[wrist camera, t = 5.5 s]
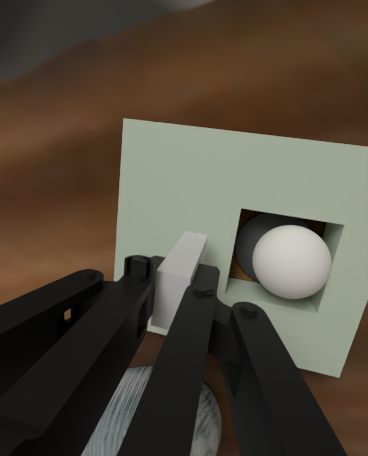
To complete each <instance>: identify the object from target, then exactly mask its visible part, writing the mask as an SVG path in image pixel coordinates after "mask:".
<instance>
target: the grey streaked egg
mask: <svg viewBox="0 0 368 456" xmlns="http://www.w3.org/2000/svg"><path fill="white" fill-rule="evenodd" d="M152 369H153V366H141V367H136V368H128V369H127V370H126V372H125V374H124V376H123V378H122V380H121V381H120V383H119V385H118V387H117V389H116V391H115V393H114V395H113V397H112V398H111V400H110V402H109V404H108V406H107V408H106V410H105V412H104V414H103V415H102V417H101V419H100V421H99V423H98V425H97V427H96V429H95V430H94V432H93V434H92V436H91V438H90V440H89V442H88V444H87V446H86V447H85V449H84V451H83V453H82V455H81V456H116V455H117V453H118V451H119V448H120V446H121V444H122V441H123V439H124V436H125V434H126V432H127V429H128V427H129V424H130V422H131V420H132V417H133V415H134V412H135V410H136V408H137V405H138V403H139V400H140V398H141V395H142V393H143V391H144V388H145V386H146V383H147V381H148V379H149V376H150V374H151V371H152ZM221 425H222V422H221V414H220V409H219V406H218V402H217V401H216V399H215V397H214V395H213V393H212V391H211V390H210V388H209V387H208V386H207V385H206V384H205V383H204V382H202V387H201V393H200V399H199V405H198V411H197V417H196V423H195V429H194V435H193V441H192V447H191V453H190V456H216V454H217V451H218V447H219V444H220V439H221Z"/></svg>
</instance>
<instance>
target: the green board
mask: <svg viewBox="0 0 368 456" xmlns="http://www.w3.org/2000/svg"><path fill="white" fill-rule="evenodd" d="M241 208H243V209H249V210H255V211H261V212H265V213H261V214H259V215H257V216H255V217H253V218H252V219H250V220H249V221H248V222H247V223H246V224H245V225H244V226H243V227H242V229H241V230H240V232H239V234H238V237H237V240H236V256H237V260H238V262H239V264H240V266H241V268H242V269H243V270H244V271H245V272H246V273H247V274H248V275H249V276H250V277H252V278H253V279H255V280H257V281H259V280H258V278H257V277H256V274H255V272H254V269H253V262H252V260H253V252H254V249H255V246H256V244H257V242H258V241H259V240H260V238H261V237H262V236H263V235H264V234H265V233H267V232H268V231H270V230H272V229H274V228H276V227H279V226H285V225H296V226H301V227H304V228H307V229H309V230H311V229H310V228H309V227H308V225H307V224H306V223H305V222H304V221H302V220H301V219H300V218H305V219H311V220H317V221H323V222H327V223H326V226H325V230H324V233H323V236H322V240H323V241H324V242H325V244H326V245H327V247H328V249H329V252H330V255H331V260H332V267H331V273H330V276H329V278H328V280H327V282H326V283H325V285H324V286H323V287H322V288H321V289H320V290H319V291H317V292H316V293H315V294H313V295H311V296H308V297H305V298H300V299H287V298H283V297H280V296H277V295H275V294H273V293H271V292H270V291H268V290H267V289H266V288H265V287H264V286H263V285H262V284H260V283H255V282H250V281H245V280H240V279H235V278H230V277H228V274H229V269H230V264H231V259H232V254H233V248H234V243H235V238H236V233H237V228H238V223H239V217H240V212H241ZM298 217H299V218H298ZM185 231H189V232H195V233H200V234H206V235H208V239H207V245H206V251H205V258H204V264H205V265H210V266H215V267H218V269H219V270H220V276H219V283H218V289H217V297H218V299H219V300H220V301H221V302H222V303H224V304H226V305H228V306H230V307H232V306H233V304H234V303H237V302H251V303H253V304H256V305H258V306H259V307H261V308H262V309H263V310H264V311H265V312H266V314H267V316H268V317H269V319H270V321H271V323H272V324H273V326H274V328H275V330H276V331H277V333H278V335H279V337H280V338H281V340H282V342H283V344H284V345H285V347H286V349H287V351H288V352H289V354H290V356H291V358H292V359H293V361H294V363H295V365H296V366H297V368H301V369H305V370H309V371H313V372H318V373H322V374H326V375H330V376H334V377H338V378H339V377H340V374H341V371H342V369H343V366H344V363H345V360H346V358H347V355H348V352H349V350H350V347H351V344H352V341H353V339H354V336H355V333H356V330H357V328H358V325H359V322H360V319H361V317H362V314H363V311H364V309H365V306H366V303H367V300H368V147H365V146H357V145H348V144H339V143H331V142H322V141H314V140H305V139H296V138H288V137H279V136H271V135H262V134H254V133H245V132H236V131H228V130H219V129H211V128H202V127H193V126H185V125H176V124H168V123H159V122H151V121H142V120H133V119H125V118H124V119H123V135H122V152H121V169H120V186H119V202H118V219H117V236H116V252H115V269H114V281H118V280H119V279H120V278H121V277H122V276H123V275H124V260H125V258H126V257H127V256H131V255H143V256H147V257H153V256H155V255H156V256H161V257H167V256H168V254H169V253H170V252H171V250H172V249H173V248H174V246H175V245H176V243H177V242H178V241H179V239H180V238H181V237H182V235H183V234H184V233H185ZM147 331H151V332H155V333H159V334H163V335H167V333H168V331H169V330H168V329H164V328H159V327H155V326H151V317H150V319H149V321H148V327H147Z"/></svg>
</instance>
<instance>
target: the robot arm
mask: <svg viewBox="0 0 368 456" xmlns="http://www.w3.org/2000/svg"><path fill="white" fill-rule="evenodd" d="M207 239H208V235H206V234H200V233H195V232H189V231H185V233H184V234H183V235H182V237H181V238H180V239H179V241H178V242H177V243H176V245H175V246H174V248H173V249H172V250H171V252H170V253H169V254H168V256H167V257H161V256H156V255H155V256H153V257H147V256H143V255H131V256H127V257H126V258H125V260H124V275H123V276H122V277H121V278H120V279H119V280H118V281H104V275H103V273H101V272H100V271H97V270H94V269H91V270H90V269H86V270H80V271H77V272H75V273H72V274H70V275H68V276H66V277H63V278H61V279H59V280H56V281H54V282H52V283H50V284H47V285H45V286H43V287H41V288H38V289H36V290H34V291H31V292H29V293H27V294H25V295H22V296H20V297H18V298H16V299H13V300H11V301H9V302H7V303H4V304H2V305H0V456H81V455H82V453H83V451H84V449H85V447H86V446H87V444H88V442H89V440H90V438H91V436H92V434H93V432H94V430H95V429H96V427H97V425H98V423H99V421H100V419H101V417H102V415H103V414H104V412H105V410H106V408H107V406H108V404H109V402H110V400H111V398H112V397H113V395H114V393H115V391H116V389H117V387H118V385H119V383H120V381H121V380H122V378H123V376H124V374H125V372H126V370H127V368H128V366H129V364H130V363H131V361H132V359H133V357H134V355H135V353H136V351H137V349H138V348H139V346H140V344H141V342H142V340H143V338H144V336H145V334H146V332H147V327H148V321H149V319H150V317H151V326H155V327H159V328H164V329H168V330H169V331H168V333H167V335H166V338H165V340H164V343H163V345H162V347H161V350H160V352H159V355H158V357H157V359H156V362H155V364H154V367H153V369H152V371H151V374H150V376H149V379H148V381H147V383H146V386H145V388H144V391H143V393H142V395H141V398H140V400H139V403H138V405H137V408H136V410H135V412H134V415H133V417H132V420H131V422H130V424H129V427H128V429H127V432H126V434H125V436H124V439H123V441H122V444H121V446H120V448H119V451H118V453H117V455H116V456H190V453H191V447H192V441H193V435H194V429H195V423H196V417H197V411H198V405H199V399H200V393H201V387H202V381H203V375H204V369H205V363H206V357H207V352H209V353H211V354H212V355H214V356H216V357H218V358H220V359H221V368H222V372H223V377H224V381H225V386H226V391H227V395H228V400H229V404H230V409H231V413H232V418H233V423H234V427H235V432H236V436H237V441H238V445H239V450H240V455H241V456H347V454H346V452H345V450H344V449H343V447H342V445H341V443H340V442H339V440H338V438H337V436H336V435H335V433H334V431H333V429H332V428H331V426H330V424H329V422H328V421H327V419H326V417H325V415H324V414H323V412H322V410H321V408H320V407H319V405H318V403H317V401H316V400H315V398H314V396H313V394H312V393H311V391H310V389H309V387H308V386H307V384H306V382H305V380H304V379H303V377H302V375H301V373H300V372H299V370H298V368H297V366H296V365H295V363H294V361H293V359H292V358H291V356H290V354H289V352H288V351H287V349H286V347H285V345H284V344H283V342H282V340H281V338H280V337H279V335H278V333H277V331H276V330H275V328H274V326H273V324H272V323H271V321H270V319H269V317H268V316H267V314H266V312H265V311H264V310H263V309H262V308H261V307H259V306H258V305H256V304H253V303H251V302H237V303H234V304H233V306H232V307H230V306H228V305H226V304H224V303H222V302H221V301H220V300H219V299H218V297H217V289H218V283H219V276H220V270H219V269H218V267H215V266H210V265H205V264H204V258H205V251H206V245H207ZM70 308H71V317H70V318H69V319H67V320H65V319H64V312H65V311H67V310H68V309H70Z"/></svg>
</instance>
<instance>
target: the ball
mask: <svg viewBox="0 0 368 456" xmlns="http://www.w3.org/2000/svg"><path fill="white" fill-rule="evenodd" d="M252 262H253V269H254V272H255V274H256V277H257V278H258V280H259V282H260V283H261V284H262V285H263V286H264V287H265V288H266V289H267V290H268V291H270V292H271V293H273V294H275V295H277V296H280V297H283V298H287V299H300V298H305V297H308V296H311V295H313V294H315V293H316V292H317V291H319V290H320V289H321V288H322V287H323V286H324V285H325V283H326V282H327V280H328V278H329V276H330V273H331V267H332V260H331V255H330V252H329V249H328V247H327V245H326V244H325V242H324V241H323V240H322V239H321V238H320V237H319V236H318V235H317V234H316V233H314V232H313V231H311V230H309V229H307V228H304V227H301V226H296V225H285V226H279V227H276V228H274V229H272V230H270V231H268V232H267V233H265V234H264V235H263V236H262V237H261V238H260V240H259V241H258V242H257V244H256V246H255V249H254V252H253V260H252Z"/></svg>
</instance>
